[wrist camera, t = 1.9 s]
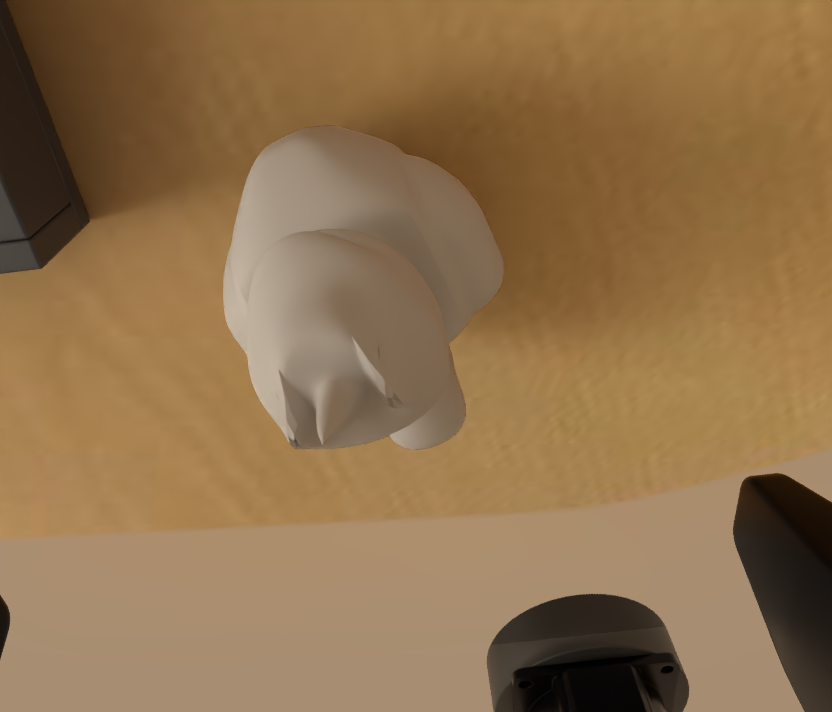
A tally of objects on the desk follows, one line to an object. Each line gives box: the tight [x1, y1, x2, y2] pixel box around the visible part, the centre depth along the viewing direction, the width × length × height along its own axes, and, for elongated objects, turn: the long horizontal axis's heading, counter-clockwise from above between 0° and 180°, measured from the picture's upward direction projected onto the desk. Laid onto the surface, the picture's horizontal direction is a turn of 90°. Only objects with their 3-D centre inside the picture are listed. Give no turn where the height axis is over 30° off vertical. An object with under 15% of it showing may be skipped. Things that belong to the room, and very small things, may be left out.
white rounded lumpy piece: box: [223, 125, 504, 450], centre depth 12 cm, size 5×7×8 cm
